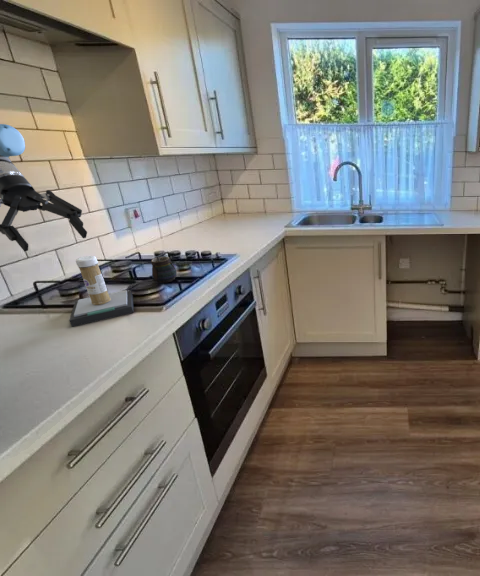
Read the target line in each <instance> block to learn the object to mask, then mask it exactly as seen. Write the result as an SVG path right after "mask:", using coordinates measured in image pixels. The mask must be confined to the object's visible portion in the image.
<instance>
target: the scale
mask: <svg viewBox="0 0 480 576" xmlns="http://www.w3.org/2000/svg"><path fill="white" fill-rule="evenodd" d="M131 291H132V290H127V289H124V290H119V291H115V292H110V293H109V292H108V294H109V297H110V298H111V300H110V301H109V302H107V303H105V304H101V305H93V304H92V301H91V298H90V296H88V297H85V298H80V299H78V300H77V301H74V304H73V308H72V311H71V313H70V317H69V320H68V322H69V324H70V326H71V328H73V327H77V326H82V325H87V324H91V323H95V322H100V321H104V320H107V319H112V318H117V317H120V316H125V315H129V314H134V294H133V292H131Z"/></svg>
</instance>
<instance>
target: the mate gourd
mask: <svg viewBox="0 0 480 576" xmlns="http://www.w3.org/2000/svg"><path fill="white" fill-rule="evenodd" d="M150 262H151V263H150V264H151V267H152V268H151V274H152V278H153V279H154V281H156V282H157V283H159V284H167V283H170V282H173V281H174V280H176V278H177V269H176V267H175V265H174V264H173V263H172V261H171V257H169V256H156V257H154V258H152V259H151V261H150Z"/></svg>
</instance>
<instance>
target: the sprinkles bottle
mask: <svg viewBox="0 0 480 576" xmlns="http://www.w3.org/2000/svg"><path fill="white" fill-rule="evenodd" d="M75 264H76V266H77V267H78V269H79V271H80V274H81V276H82V277H81V278H82V279H83V283H84V285H85V289H86V291H87V294H88V295H89V296H88V297H90V298H91V301H92V304H93V305H101V304H105V303H107V302H109V301H110V300H111V298H110V297H109V292H108V288H107V286H106V282H105V279H104V277H103V274H102V271H101V269H100V267H99V261H98V259H97V257H96V256H95V255H86V256H82V257H81V256H80V257H78V258H76V259H75Z"/></svg>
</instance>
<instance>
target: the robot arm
mask: <svg viewBox="0 0 480 576" xmlns="http://www.w3.org/2000/svg"><path fill="white" fill-rule="evenodd" d="M25 142H26V140H25V139H24V136H23V135H22V134H21V132H20V131H19V130H18V129H16V127H13V126H12V125H9V124H7V123H6V124H5V123H0V208H1V207H2V205H4V206H6V207H9V208H8V210H7V212H6V214H5V216H4V218H3V220H2V222H1V223H0V232H1V234H2V235H4V236H6V237H7V239H8V240H9V241H10V242H15V243H17V244H18V246H19V247H20V248H21V249H22V251H23V252H28V251H29V243H28V242H27V241H26V240H25V238H24V236H22V234H20V233H19V231H18V230H17V229H16V227H15V226H14V225H12V224H13V222H14V221H15V218H16V216H17V214H18V213H19V212H23V213H25V212H29V211H37V210H40V211H42V212H45V211H46V212H49V213H52V214H54V215H56V216H60V217H62V218H65V219H69V220H68V222H69V223H70V224H71V226H72V227H73V228H74V229H75V230H76V232H77V233H78V234H79V236H80V237H81V238H82V239H86V238H87V235H88V231H87V230H86V229H85V227H84V222H83V221H82V219H81V217H82V213H83V209H82V208H79V207H77V206H75V205H74V204H72V203H71V202H68V201H67V200H65V199H64V198H61V197H59V196H57V195H56V194H55V193H54V192H53V191H52V190H49V189H47V190H45V192H43V193H40V192H37V191H36V190H35V188H34V187H33V186H32V184H31V183H30V181H28V180H27V178H25V175H24V174H22V172H21V171H20V170H19V169H18V168H17V166H16V165H15V164H14V163H13V162H12V161H11V159H10V157H17V156H21V155H22V154H23V153H24V152H25V150H26V143H25Z"/></svg>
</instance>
